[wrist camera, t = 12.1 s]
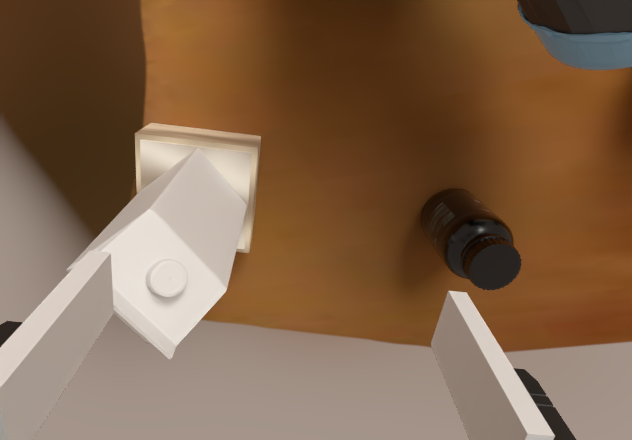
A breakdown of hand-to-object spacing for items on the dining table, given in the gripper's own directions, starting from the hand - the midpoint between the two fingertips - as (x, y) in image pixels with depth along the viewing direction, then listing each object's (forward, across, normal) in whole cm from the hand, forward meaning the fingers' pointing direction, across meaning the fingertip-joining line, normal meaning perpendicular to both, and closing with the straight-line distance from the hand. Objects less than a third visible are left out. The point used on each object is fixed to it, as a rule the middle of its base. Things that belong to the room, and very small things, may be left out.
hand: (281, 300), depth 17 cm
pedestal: (+30, -8, -7) cm, 32 cm away
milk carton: (+25, -8, -7) cm, 27 cm away
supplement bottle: (+31, +19, -7) cm, 37 cm away
